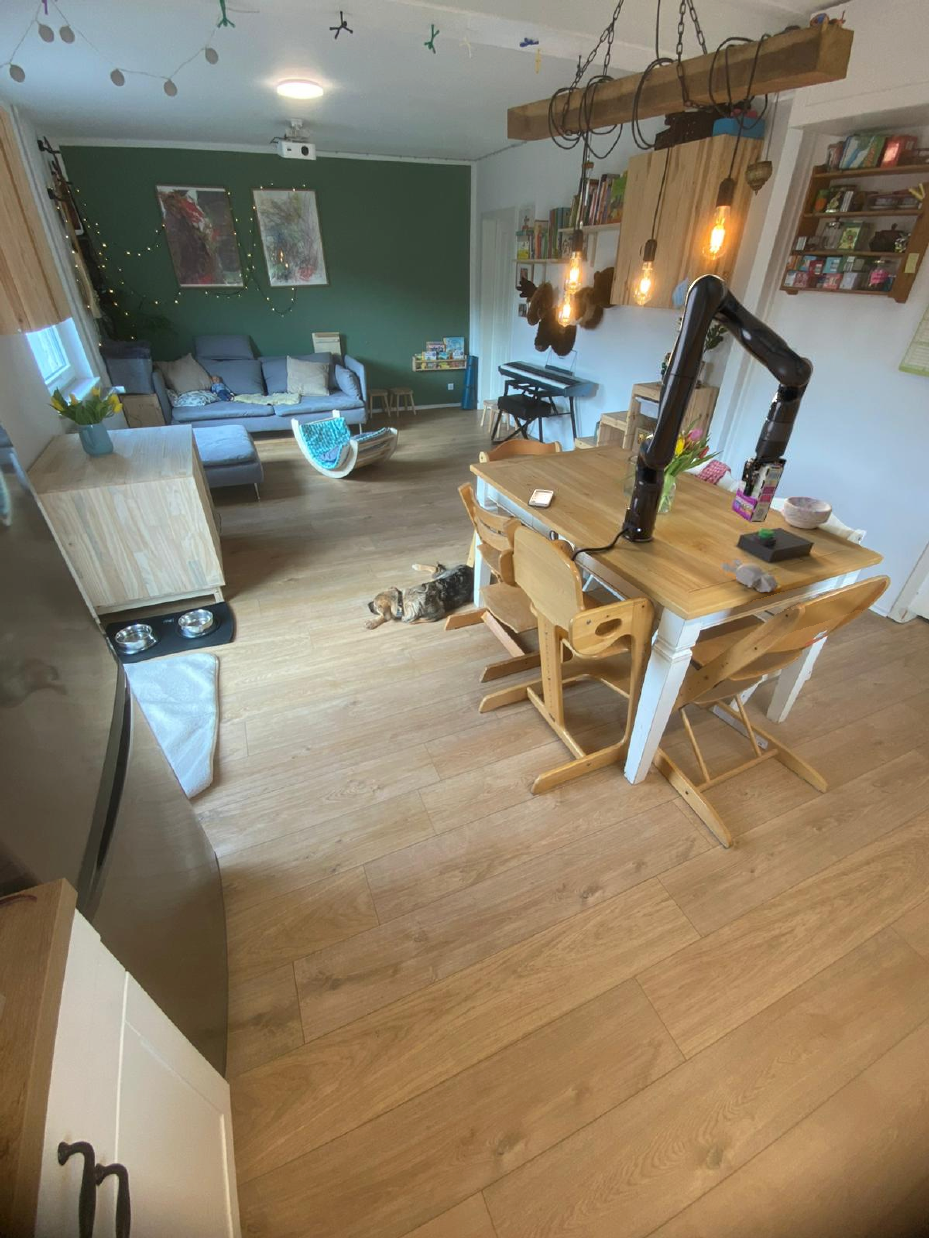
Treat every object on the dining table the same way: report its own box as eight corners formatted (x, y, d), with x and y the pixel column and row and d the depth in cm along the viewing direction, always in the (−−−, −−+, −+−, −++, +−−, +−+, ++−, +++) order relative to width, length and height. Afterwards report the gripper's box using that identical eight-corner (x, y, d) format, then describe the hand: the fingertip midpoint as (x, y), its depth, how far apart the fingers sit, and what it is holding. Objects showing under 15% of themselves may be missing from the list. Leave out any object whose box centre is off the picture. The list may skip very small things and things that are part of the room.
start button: (765, 540, 167) (767, 534, 166) (755, 535, 170) (757, 529, 169) (774, 538, 169) (776, 532, 167) (764, 533, 172) (766, 527, 171)
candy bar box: (765, 522, 157) (785, 467, 148) (749, 522, 156) (768, 467, 147) (745, 508, 166) (763, 456, 157) (730, 508, 165) (747, 456, 157)
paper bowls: (795, 533, 187) (804, 512, 182) (769, 516, 199) (776, 496, 195) (834, 531, 189) (843, 510, 185) (805, 515, 202) (813, 495, 197)
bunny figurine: (768, 585, 145) (721, 559, 155) (760, 600, 149) (715, 573, 158) (786, 577, 150) (740, 551, 159) (778, 591, 153) (733, 566, 162)
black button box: (767, 562, 166) (774, 545, 163) (735, 546, 176) (741, 529, 173) (809, 554, 173) (816, 537, 169) (775, 538, 183) (782, 522, 179)
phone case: (547, 507, 202) (553, 494, 214) (548, 503, 201) (553, 491, 214) (528, 504, 204) (535, 492, 216) (529, 501, 203) (535, 489, 215)
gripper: (781, 432, 154) (762, 488, 163) (744, 435, 149) (726, 493, 158) (804, 438, 148) (782, 496, 157) (766, 442, 143) (746, 501, 152)
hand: (754, 494), depth 157 cm, fingers closed on candy bar box, 6 cm apart
